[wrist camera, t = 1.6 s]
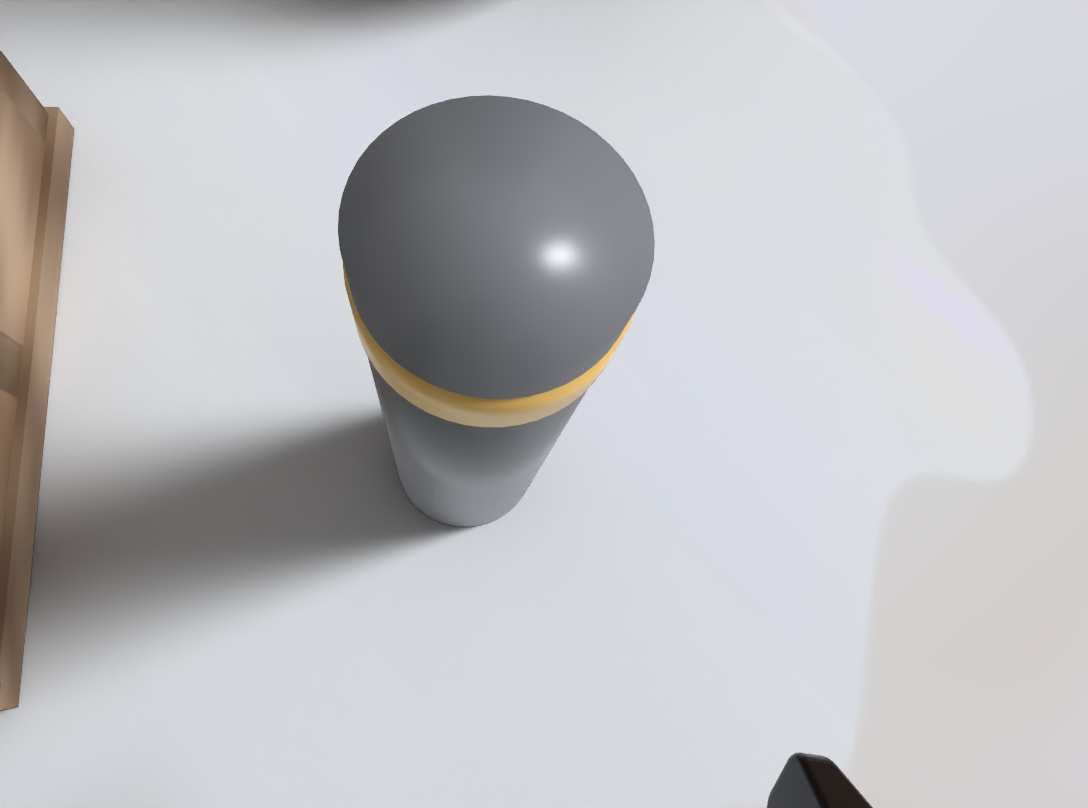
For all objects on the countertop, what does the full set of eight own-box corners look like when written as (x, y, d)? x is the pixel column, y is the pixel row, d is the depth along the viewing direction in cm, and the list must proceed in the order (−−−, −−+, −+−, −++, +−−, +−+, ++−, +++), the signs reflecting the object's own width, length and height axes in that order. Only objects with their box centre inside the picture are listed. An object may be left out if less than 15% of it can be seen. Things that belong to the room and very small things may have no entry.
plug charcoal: (541, 522, 21) (681, 371, 9) (398, 534, 21) (337, 389, 8) (528, 389, 22) (634, 94, 10) (392, 396, 22) (330, 90, 9)
